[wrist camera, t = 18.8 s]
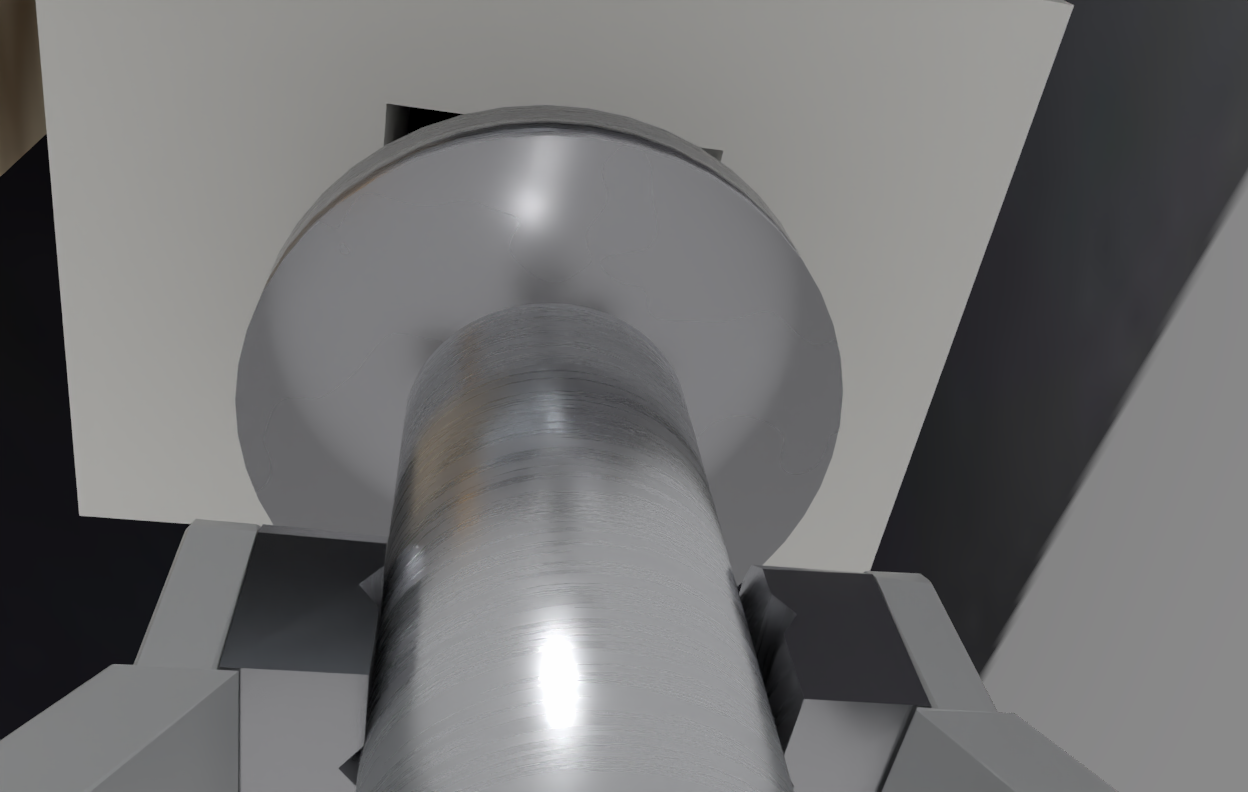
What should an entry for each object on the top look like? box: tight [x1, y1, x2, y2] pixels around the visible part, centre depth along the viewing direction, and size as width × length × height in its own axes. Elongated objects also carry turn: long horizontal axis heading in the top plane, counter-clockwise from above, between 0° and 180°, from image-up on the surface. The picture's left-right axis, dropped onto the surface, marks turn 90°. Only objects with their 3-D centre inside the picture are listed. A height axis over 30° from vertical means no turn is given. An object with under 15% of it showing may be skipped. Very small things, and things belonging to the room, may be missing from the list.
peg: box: [235, 105, 843, 792], centre depth 12 cm, size 6×6×14 cm
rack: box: [36, 0, 1074, 573], centre depth 18 cm, size 9×12×7 cm
